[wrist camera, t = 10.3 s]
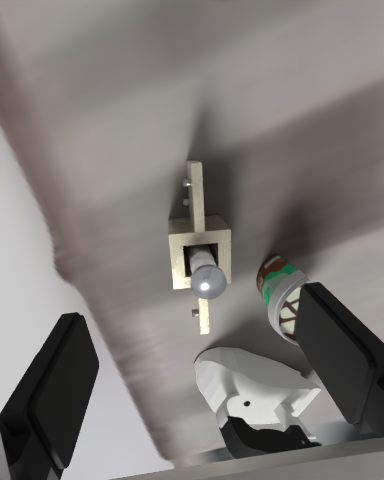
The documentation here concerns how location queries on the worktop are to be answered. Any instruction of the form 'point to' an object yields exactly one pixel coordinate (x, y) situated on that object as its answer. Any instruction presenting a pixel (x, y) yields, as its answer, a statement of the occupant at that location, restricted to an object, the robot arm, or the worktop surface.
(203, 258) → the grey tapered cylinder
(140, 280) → the worktop surface
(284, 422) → the iron
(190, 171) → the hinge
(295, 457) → the robot arm
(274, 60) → the worktop surface
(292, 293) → the food container
